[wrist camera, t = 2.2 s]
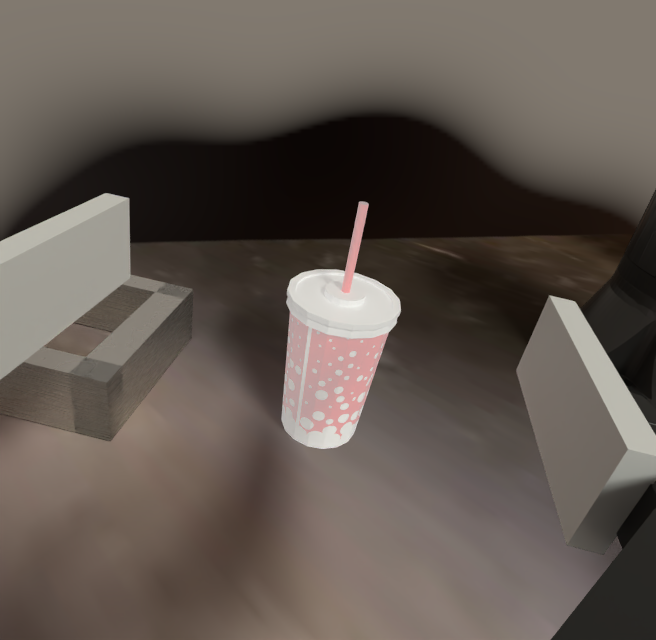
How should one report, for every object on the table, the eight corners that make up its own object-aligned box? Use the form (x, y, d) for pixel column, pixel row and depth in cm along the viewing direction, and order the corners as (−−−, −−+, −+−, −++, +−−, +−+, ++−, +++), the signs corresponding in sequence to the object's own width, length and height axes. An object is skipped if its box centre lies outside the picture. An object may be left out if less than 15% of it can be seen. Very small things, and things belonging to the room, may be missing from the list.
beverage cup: (385, 424, 32) (448, 214, 25) (325, 476, 28) (382, 237, 21) (312, 378, 35) (350, 177, 28) (247, 418, 31) (274, 191, 24)
